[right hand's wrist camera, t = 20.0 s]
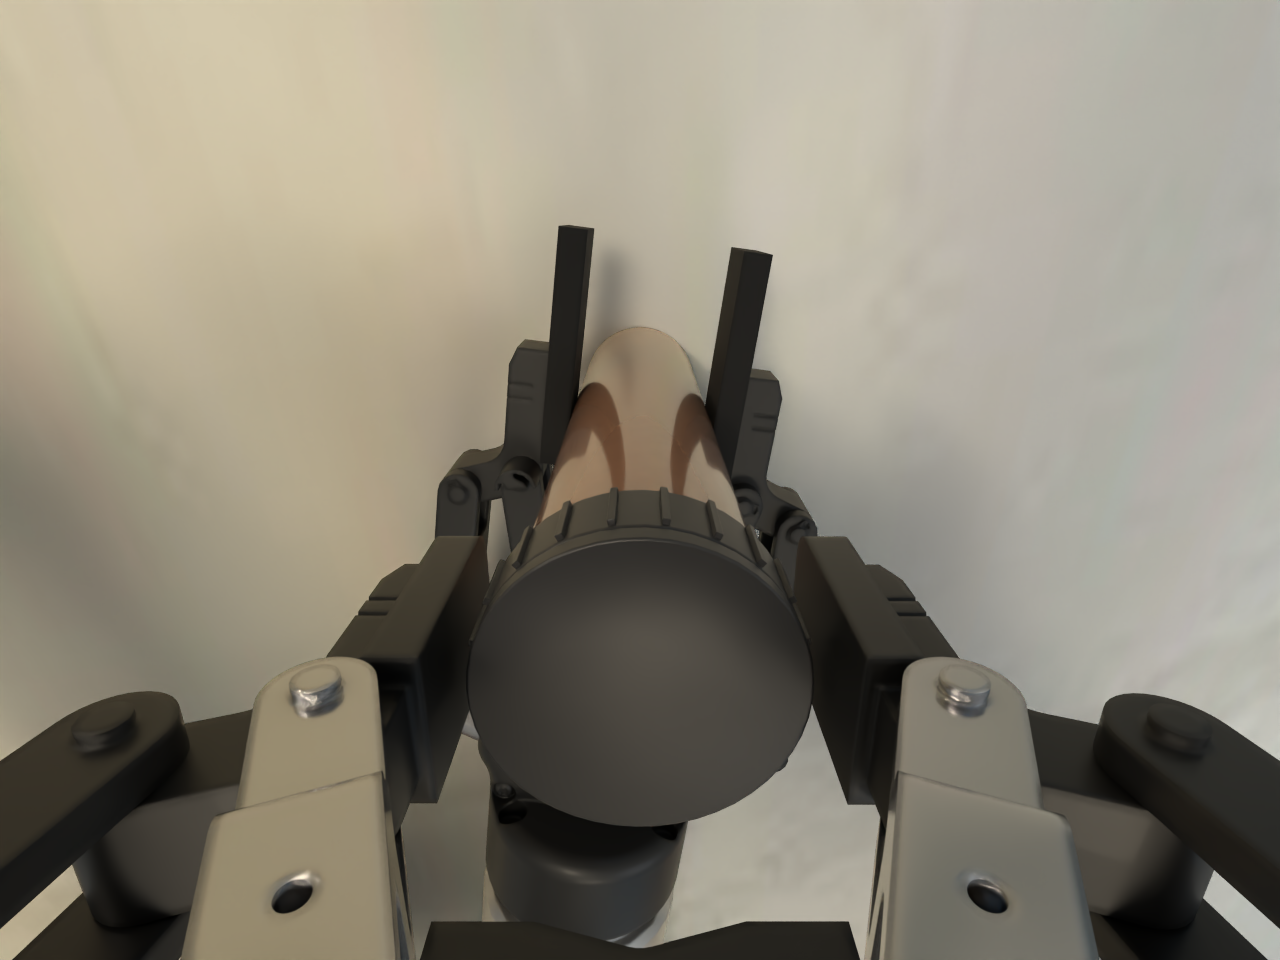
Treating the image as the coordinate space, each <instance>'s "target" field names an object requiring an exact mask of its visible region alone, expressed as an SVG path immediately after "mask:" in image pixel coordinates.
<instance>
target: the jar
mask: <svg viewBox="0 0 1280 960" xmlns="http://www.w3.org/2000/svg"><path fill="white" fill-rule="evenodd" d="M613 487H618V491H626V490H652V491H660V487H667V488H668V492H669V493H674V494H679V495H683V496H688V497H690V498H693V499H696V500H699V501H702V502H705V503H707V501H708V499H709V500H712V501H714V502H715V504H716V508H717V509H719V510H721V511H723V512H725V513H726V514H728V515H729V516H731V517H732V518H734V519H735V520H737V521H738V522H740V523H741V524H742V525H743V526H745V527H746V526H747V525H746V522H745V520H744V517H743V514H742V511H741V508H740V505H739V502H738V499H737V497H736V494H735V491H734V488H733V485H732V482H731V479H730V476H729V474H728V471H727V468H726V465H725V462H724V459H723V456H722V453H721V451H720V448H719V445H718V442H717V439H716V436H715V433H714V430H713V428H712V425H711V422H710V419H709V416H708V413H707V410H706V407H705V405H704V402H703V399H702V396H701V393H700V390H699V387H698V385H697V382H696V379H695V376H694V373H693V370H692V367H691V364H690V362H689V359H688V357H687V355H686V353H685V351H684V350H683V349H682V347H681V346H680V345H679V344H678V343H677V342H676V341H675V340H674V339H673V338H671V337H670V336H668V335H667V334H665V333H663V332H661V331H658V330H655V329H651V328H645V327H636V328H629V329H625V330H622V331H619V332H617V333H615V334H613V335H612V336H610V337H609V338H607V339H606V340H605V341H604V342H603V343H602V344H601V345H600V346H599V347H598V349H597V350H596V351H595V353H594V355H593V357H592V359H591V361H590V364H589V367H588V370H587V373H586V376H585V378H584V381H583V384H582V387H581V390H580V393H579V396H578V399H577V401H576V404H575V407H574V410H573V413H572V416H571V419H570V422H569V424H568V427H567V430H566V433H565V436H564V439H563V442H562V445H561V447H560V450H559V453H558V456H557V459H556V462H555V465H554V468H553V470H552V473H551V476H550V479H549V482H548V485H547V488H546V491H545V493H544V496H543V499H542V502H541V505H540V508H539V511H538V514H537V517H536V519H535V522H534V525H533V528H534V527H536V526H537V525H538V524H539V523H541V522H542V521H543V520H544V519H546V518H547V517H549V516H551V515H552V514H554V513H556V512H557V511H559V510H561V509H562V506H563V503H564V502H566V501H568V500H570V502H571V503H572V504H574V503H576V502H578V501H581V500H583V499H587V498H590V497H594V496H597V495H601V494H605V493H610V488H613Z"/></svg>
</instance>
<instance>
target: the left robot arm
mask: <svg viewBox="0 0 1280 960" xmlns="http://www.w3.org/2000/svg"><path fill="white" fill-rule="evenodd" d="M593 236H594V228H587V227H579V226H572V225H564V226H559V229H558V241H557V253H556V266H555V278H554V290H553V303H552V315H551V327H550V340H549V342H542V341H534V340H526V339H525V340H524V341H523V342H522V343H521V344H520V345H519V346H518V347H517V349H516V351H515V353H514V355H513V357H512V359H511V361H510V363H509V374H508V391H507V407H506V423H505V440H504V444H503V445H501V446H500V447H497V448H494V449H489V450H485V451H481V450H478V449H471V450H468V451H466V452H464V453H463V454H462V455H461V456H460V457H459V459H458V460H457V461H456V463H455V464H454V465H453V467H452V468H451V469H450V471H449V472H448V473H447V475H446V476H445V477H444V479H443V480H442V481H441V483H440V485H439V488H438V495H437V512H436V529H435V539H436V537H438V536H482V537H483V538H484V540H485V544H486V550H487V543H488V532H489V521H490V510H491V500H494V499H499V498H502V500H503V506H504V513H505V519H506V525H507V531H508V537H509V543H510V549H511V553H512V551H513V550H514V548H515V547H516V546H517V544H518V543H519V542H520V541H521V538H522V535H523V532H524V530H525V529H526V528H527V527H528V526H529V525H530V526H531V527H532V528H533V525H534V522H535V519H536V517H537V514H538V511H539V508H540V505H541V502H542V499H543V496H544V493H545V491H546V488H547V485H548V482H549V479H550V476H551V473H552V466H551V464H552V465H555V462H556V459H557V456H558V453H559V450H560V447H561V445H562V442H563V439H564V436H565V433H566V430H567V427H568V424H569V422H570V419H571V416H572V413H573V410H574V407H575V404H576V401H577V399H578V389H579V379H580V369H581V359H582V348H583V338H584V328H585V318H586V308H587V298H588V287H589V277H590V267H591V257H592V247H593ZM772 257H773V255H771V254H767V253H764V252H760V251H756V250H749V249H741V248H734V247H732V248H731V254H730V260H729V266H728V272H727V278H726V284H725V290H724V296H723V302H722V308H721V314H720V320H719V326H718V332H717V338H716V344H715V350H714V356H713V362H712V368H711V374H710V380H709V386H708V392H707V398H706V404H705V407H706V410H707V413H708V416H709V419H710V422H711V425H712V428H713V430H714V433H715V436H716V439H717V442H718V445H719V448H720V451H721V453H722V456H723V459H724V462H725V465H726V468H727V471H728V474H729V476H730V479H731V482H732V485H733V488H734V491H735V494H736V497H737V499H738V502H739V505H740V508H741V511H742V514H743V517H744V520H745V522H746V525H748V524H750V525H751V526H752V527H753V528H754V529H757V530H759V531H760V532H759V538H758V540H759V541H760V542H761V543H762V545H763V546H764V547H765V548H766V549H767V551H768V552H769V554H770V555H771V557H772V559H773V560H774V559H776V558H779V559H780V561H781V563H782V565H783V568H784V570H785V573H786V575H787V577H788V580H789V582H790V585H791V587H792V590H794V579H795V568H796V557H797V548H798V543H799V540H800V538H801V537H817V527H816V525H815V523H814V521H813V520H812V517H811V516H810V514H809V512H808V510H807V509H806V507H805V505H804V504H803V502H802V500H801V499H800V497H799V495H798V493H797V492H795V491H794V490H793V489H791V488H788V487H780V486H778V485H776V484H774V483H772V482H770V481H768V480H767V479H766V476H767V469H768V465H769V460H770V455H771V450H772V445H773V440H774V436H775V430H776V426H777V421H778V416H779V411H780V406H781V402H782V396H781V390H780V385H779V381H778V380H777V378H776V377H775V376H774V375H773V374H772V373H771V371H766V370H759V369H752V364H753V358H754V353H755V348H756V342H757V337H758V331H759V326H760V321H761V315H762V310H763V305H764V299H765V294H766V289H767V283H768V278H769V273H770V267H771V262H772ZM462 734H464V735H467V736H469V737H471V738H474V739H476V740H478V749H479V753H480V756H481V758H482V760H483V761H484V763H485V765H486V766H487V768H488V771H489V773H490V779H491V784H490V799H489V815H488V830H487V845H486V868H485V872H484V889H483V910H482V922H537V923H541V924H545V925H549V926H552V927H556V928H560V929H564V930H568V931H571V932H575V933H579V934H583V935H586V936H590V937H594V938H598V939H602V940H605V941H609V942H613V943H617V944H620V945H624V946H628V947H633V948H647V947H652V946H656V945H660V944H663V941H664V936H665V932H666V927H667V923H668V918H669V914H670V909H671V904H672V900H673V888H674V884H675V881H676V878H677V873H678V868H679V863H680V858H681V853H682V848H683V843H684V838H685V833H686V828H687V823H688V821H685V822H681V823H677V824H669V825H661V826H642V827H633V826H619V825H611V824H605V823H599V822H594V821H590V820H587V819H583V818H579V817H576V816H573V815H570V814H568V813H565V812H563V811H560V810H558V809H555V808H553V807H552V806H550V805H548V804H546V803H544V802H542V801H540V800H538V799H537V798H535V797H534V796H532V795H531V794H529V793H528V792H527V791H525V790H524V789H522V788H521V787H520V786H518V785H517V784H516V783H515V782H514V781H513V780H512V779H511V778H509V777H508V776H507V775H506V774H505V773H504V772H503V770H502V769H501V768H500V767H499V766H498V765H497V764H496V763H495V761H494V760H493V759H492V757H491V756H490V754H489V753H488V751H487V750H486V748H485V747H484V745H483V744H482V741H481V739H480V737H479V735H478V733H477V731H476V729H475V727H474V723H473V720H472V717H471V714H470V711H469V713H468V716H467V718H466V721H465V724H464V727H463V730H462ZM787 762H788V759H787V760H786V761H785V762H784V764H783V765H782V766H781V768H780V769H779V770H778V771H780V770H782V769H783V768H784V767H785V766H786V764H787ZM778 771H777V772H778Z"/></svg>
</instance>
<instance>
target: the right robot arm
mask: <svg viewBox="0 0 1280 960" xmlns="http://www.w3.org/2000/svg"><path fill="white" fill-rule="evenodd" d="M488 587H489V573H488V561H487V550H486V544H485V540H484V538H483V537H482V536H438V537H436V539H435V540H434V542H433V543H432V545H431V546H430V548H429V549H428V551H427V553H426V554H425V556H424V557H423V559H422V560H421V562H420V563H419V564H404V565H403V566H401V567H400V568H398V569H397V570H395V571H394V572H392V573H391V574H389V575H387V576H386V577H384V578H383V579H382V580H381V581H380V582H379V584H378V585H377V586H376V588H375V589H374V591H373V592H372V593H371V595H370V596H369V601H366V602H365V603H364V605H363V606H362V607H361V609H360V610H359V612H358V616H355V617H354V619H353V620H352V621H351V623H350V624H349V625H348V627H347V628H346V630H345V631H344V632H343V634H342V635H341V637H340V638H339V639H338V641H337V642H336V644H335V645H334V646H333V648H332V649H331V651H330V652H329V653H328V655H327V656H326V658H322V659H317V660H313V661H309V662H306V663H303V664H300V665H297V666H295V667H293V668H290V669H288V670H286V671H285V672H283V673H281V674H279V675H278V676H276V677H275V678H273V679H272V680H271V681H270V682H268V683H267V684H266V685H265V686H264V687H263V688H262V689H261V691H260V692H259V693H258V695H257V697H256V699H255V702H254V706H253V709H252V710H248V711H244V712H240V713H236V714H231V715H226V716H221V717H216V718H211V719H206V720H201V721H196V722H191V723H186V724H184V721H183V717H182V714H181V710H180V707H179V704H178V702H177V700H176V699H174V698H173V697H172V696H170V695H168V694H165V693H161V692H152V691H146V692H134V693H127V694H122V695H117V696H114V697H110V698H107V699H104V700H101V701H98V702H95V703H93V704H90V705H88V706H86V707H83V708H81V709H79V710H77V711H75V712H73V713H71V714H69V715H68V716H66V717H64V718H63V719H61V720H60V721H58V722H56V723H55V724H54V725H52V726H51V727H49V728H48V729H46V730H45V731H43V732H42V733H40V734H39V735H37V736H36V737H35V738H33V739H32V740H30V741H29V742H27V743H26V744H24V745H23V746H21V747H20V748H19V749H17V750H16V751H14V752H13V753H11V754H10V755H8V756H7V757H5V758H4V759H2V760H1V761H0V929H1V928H2V927H3V926H4V925H5V924H6V923H7V922H8V921H9V920H11V919H12V918H13V917H14V916H15V915H16V914H17V913H18V912H19V911H21V910H22V909H23V908H24V907H25V906H26V905H27V904H28V903H30V902H31V901H32V900H33V899H34V898H35V897H36V896H37V895H38V894H40V893H41V892H42V891H43V890H44V889H45V888H46V887H47V886H48V885H50V884H51V883H52V882H53V881H54V880H55V879H56V878H57V877H58V876H60V875H61V874H62V873H63V872H64V871H65V870H66V869H67V868H69V867H70V866H71V865H72V866H73V868H74V871H75V873H76V876H77V878H78V881H79V883H80V886H81V888H82V891H83V893H82V894H81V895H80V896H79V897H78V898H77V899H76V900H75V901H74V902H73V903H71V904H70V905H69V906H68V907H67V908H66V909H65V910H64V911H63V912H62V913H61V914H60V915H59V916H58V917H57V918H56V919H55V920H54V921H53V922H51V923H50V924H49V925H48V926H47V927H46V928H45V929H44V930H43V931H42V932H41V933H40V934H39V935H38V936H37V937H36V938H35V939H34V940H33V941H32V942H30V943H29V944H28V945H27V946H26V947H25V948H24V949H23V950H22V951H21V952H20V953H19V954H18V955H17V956H16V957H15V958H14V959H13V960H178V959H179V958H180V957H181V960H416V955H415V946H414V936H413V927H412V917H411V907H410V898H409V888H408V879H407V869H406V859H405V850H404V841H403V835H402V828H401V824H402V822H403V819H404V817H405V814H406V811H407V809H408V806H409V804H410V803H437V802H438V799H439V796H440V793H441V790H442V787H443V785H444V782H445V779H446V776H447V773H448V770H449V767H450V764H451V762H452V759H453V756H454V753H455V750H456V747H457V744H458V741H459V739H460V736H461V733H462V730H463V727H464V724H465V721H466V718H467V716H468V713H469V706H468V700H467V693H466V669H467V663H468V657H469V651H470V648H471V647H469V646H468V643H469V639H470V636H471V634H472V631H473V629H474V626H475V624H476V622H477V619H478V617H479V614H480V612H481V609H482V607H483V604H482V601H483V599H484V597H485V594H486V592H487V589H488ZM793 592H794V594H795V597H796V599H797V602H796V603H797V606H798V608H799V611H800V613H801V616H802V618H803V620H804V623H805V625H806V628H807V630H808V633H809V635H810V638H811V642H812V644H811V645H809V648H810V652H811V656H812V660H813V670H814V693H813V701H812V705H813V708H814V711H815V714H816V716H817V719H818V722H819V725H820V728H821V731H822V733H823V736H824V739H825V742H826V745H827V747H828V750H829V753H830V756H831V759H832V761H833V764H834V767H835V770H836V773H837V776H838V778H839V781H840V784H841V787H842V790H843V792H844V795H845V798H846V801H847V804H848V805H876V807H877V810H878V812H879V815H880V822H879V828H878V835H877V841H876V850H875V859H874V869H873V879H872V888H871V898H870V907H869V917H868V927H867V936H866V946H865V955H864V960H1099V957H1100V958H1101V959H1102V960H1267V959H1266V958H1265V957H1264V956H1263V955H1262V954H1261V953H1260V952H1259V951H1258V950H1257V949H1256V948H1255V947H1254V946H1253V945H1252V944H1251V943H1250V942H1248V941H1247V940H1246V939H1245V938H1244V937H1243V936H1242V935H1241V934H1240V933H1239V932H1238V931H1237V930H1236V929H1235V928H1234V927H1233V926H1232V925H1231V924H1230V923H1229V922H1227V921H1226V920H1225V919H1224V918H1223V917H1222V916H1221V915H1220V914H1219V913H1218V912H1217V911H1216V910H1215V909H1214V908H1213V907H1212V906H1211V905H1210V904H1209V903H1207V902H1206V901H1205V900H1204V899H1203V896H1204V894H1205V891H1206V889H1207V886H1208V884H1209V881H1210V879H1211V876H1212V874H1213V871H1214V870H1215V871H1216V872H1217V873H1218V874H1219V875H1220V876H1222V877H1223V878H1224V879H1225V880H1226V881H1227V882H1228V883H1229V884H1230V885H1232V886H1233V887H1234V888H1235V889H1236V890H1237V891H1238V892H1239V893H1240V894H1242V895H1243V896H1244V897H1245V898H1246V899H1247V900H1248V901H1249V902H1251V903H1252V904H1253V905H1254V906H1255V907H1256V908H1257V909H1258V910H1259V911H1261V912H1262V913H1263V914H1264V915H1265V916H1266V917H1267V918H1268V919H1269V920H1271V921H1272V922H1273V923H1274V924H1275V925H1276V926H1277V927H1278V928H1279V929H1280V761H1279V760H1278V759H1276V758H1275V757H1273V756H1272V755H1270V754H1269V753H1267V752H1266V751H1264V750H1263V749H1262V748H1260V747H1259V746H1257V745H1256V744H1254V743H1253V742H1251V741H1250V740H1248V739H1247V738H1245V737H1244V736H1243V735H1241V734H1240V733H1238V732H1237V731H1235V730H1234V729H1232V728H1231V727H1229V726H1228V725H1226V724H1225V723H1223V722H1222V721H1220V720H1219V719H1217V718H1215V717H1213V716H1212V715H1210V714H1208V713H1206V712H1204V711H1202V710H1199V709H1197V708H1195V707H1193V706H1190V705H1187V704H1185V703H1182V702H1179V701H1176V700H1173V699H1169V698H1165V697H1161V696H1156V695H1149V694H1138V693H1131V694H1122V695H1118V696H1115V697H1113V698H1111V699H1109V700H1108V701H1107V702H1106V703H1105V706H1104V708H1103V711H1102V715H1101V718H1100V721H1099V725H1098V724H1093V723H1088V722H1083V721H1078V720H1073V719H1068V718H1064V717H1059V716H1054V715H1049V714H1044V713H1040V712H1036V711H1033V710H1030V709H1027V706H1026V702H1025V699H1024V697H1023V695H1022V693H1021V692H1020V691H1019V689H1018V688H1017V687H1016V686H1015V685H1014V684H1013V683H1012V682H1010V681H1009V680H1008V679H1007V678H1005V677H1004V676H1002V675H1001V674H999V673H997V672H995V671H994V670H992V669H990V668H987V667H985V666H983V665H980V664H977V663H974V662H971V661H967V660H963V659H960V658H959V657H958V656H957V654H956V653H955V651H954V650H953V649H952V647H951V646H950V645H949V643H948V642H947V641H946V639H945V638H944V636H943V635H942V634H941V632H940V631H939V630H938V628H937V627H936V625H935V624H934V623H933V621H932V620H931V619H930V617H929V616H926V612H925V610H924V609H923V608H922V606H921V605H920V603H919V602H918V601H915V597H914V595H913V594H912V592H911V591H910V590H909V588H908V587H907V586H906V584H905V583H904V581H903V580H902V579H900V578H899V577H897V576H896V575H894V574H892V573H891V572H889V571H888V570H886V569H885V568H883V567H882V566H880V565H865V564H864V562H863V561H862V559H861V558H860V556H859V555H858V553H857V552H856V550H855V549H854V547H853V545H852V544H851V542H850V541H849V539H848V538H847V537H801V538H800V540H799V543H798V548H797V557H796V568H795V579H794V590H793ZM420 960H860V958H859V955H858V951H857V948H856V945H855V941H854V938H853V934H852V931H851V928H850V924H849V922H743V923H739V924H735V925H731V926H728V927H724V928H720V929H716V930H712V931H709V932H705V933H701V934H697V935H694V936H690V937H686V938H682V939H678V940H675V941H671V942H667V943H663V944H660V945H656V946H652V947H647V948H633V947H628V946H624V945H620V944H617V943H613V942H609V941H605V940H602V939H598V938H594V937H590V936H586V935H583V934H579V933H575V932H571V931H568V930H564V929H560V928H556V927H552V926H549V925H545V924H541V923H537V922H431V924H430V928H429V931H428V934H427V938H426V941H425V945H424V948H423V951H422V955H421V958H420Z"/></svg>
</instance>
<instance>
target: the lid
mask: <svg viewBox="0 0 1280 960" xmlns="http://www.w3.org/2000/svg"><path fill="white" fill-rule="evenodd" d="M796 602H797V599H796V597H795V594H794V592H793V590H792V587H791V585H790V582H789V580H788V577H787V575H786V573H785V570H784V568H783V565H782V563H781V561H780V559H779V558H776V559H774V560H773V559H772V557H771V555H770V554H769V552H768V551H767V549H766V548H765V547H764V546H763V545H762V543H761V542H760V541H759V540H758V538H757V535H756V532H755V529H754V528H753V527H752V526H751V525H750V524H748V525H747V526H746V527H745V526H743V525H742V524H741V523H740V522H738V521H737V520H735V519H734V518H732V517H731V516H729V515H728V514H726V513H725V512H723V511H721V510H719V509H717V508H716V504H715V502H714V501H712V500H709V499H708V501H707V503H705V502H702V501H699V500H696V499H693V498H690V497H688V496H683V495H679V494H674V493H669V492H668V488H667V487H660V491H652V490H626V491H618V487H613V488H610V493H605V494H601V495H597V496H594V497H590V498H587V499H583V500H581V501H578V502H576V503H574V504H572V503H571V502H570V500H568V501H566V502H564V503H563V506H562V509H561V510H559V511H557V512H556V513H554V514H552V515H551V516H549V517H547V518H546V519H544V520H543V521H542V522H541V523H539V524H538V525H537V526H536V527H534V528H532V527H531V526H530V525H529V526H528V527H527V528H526V529H525V530H524V532H523V535H522V538H521V541H520V542H519V543H518V544H517V546H516V547H515V548H514V550H513V551H512V553H511V554H510V555H509V557H508V558H507V560H506V561H504V560H500V561H499V563H498V565H497V567H496V570H495V572H494V575H493V577H492V580H491V582H490V584H489V587H488V589H487V592H486V594H485V597H484V599H483V601H482V604H483V607H482V609H481V612H480V614H479V617H478V619H477V622H476V624H475V626H474V629H473V631H472V634H471V636H470V639H469V643H468V646H469V647H471V648H470V651H469V657H468V663H467V669H466V693H467V700H468V706H469V711H470V714H471V717H472V720H473V723H474V727H475V729H476V731H477V733H478V735H479V737H480V739H481V741H482V744H483V745H484V747H485V748H486V750H487V751H488V753H489V754H490V756H491V757H492V759H493V760H494V761H495V763H496V764H497V765H498V766H499V767H500V768H501V769H502V770H503V772H504V773H505V774H506V775H507V776H508V777H509V778H511V779H512V780H513V781H514V782H515V783H516V784H517V785H518V786H520V787H521V788H522V789H524V790H525V791H527V792H528V793H529V794H531V795H532V796H534V797H535V798H537V799H538V800H540V801H542V802H544V803H546V804H548V805H550V806H552V807H553V808H555V809H558V810H560V811H563V812H565V813H568V814H570V815H573V816H576V817H579V818H583V819H587V820H590V821H594V822H599V823H605V824H611V825H619V826H633V827H642V826H661V825H669V824H677V823H681V822H685V821H690V820H694V819H698V818H701V817H704V816H707V815H709V814H712V813H715V812H718V811H720V810H722V809H724V808H726V807H728V806H730V805H733V804H735V803H736V802H738V801H740V800H741V799H743V798H745V797H746V796H748V795H749V794H751V793H752V792H754V791H755V790H756V789H758V788H759V787H760V786H761V785H763V784H764V783H765V782H767V781H768V780H769V779H770V778H771V777H772V776H773V775H774V774H775V773H776V772H777V771H778V770H779V769H780V768H781V766H782V765H783V764H784V762H785V761H786V760H787V759H788V757H789V756H790V755H791V753H792V752H793V750H794V748H795V747H796V745H797V743H798V741H799V740H800V738H801V736H802V734H803V731H804V729H805V726H806V723H807V721H808V718H809V714H810V710H811V706H812V701H813V693H814V670H813V660H812V656H811V652H810V648H809V645H811V644H812V642H811V638H810V635H809V633H808V630H807V628H806V625H805V623H804V620H803V618H802V616H801V613H800V611H799V608H798V606H797V603H796Z"/></svg>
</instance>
